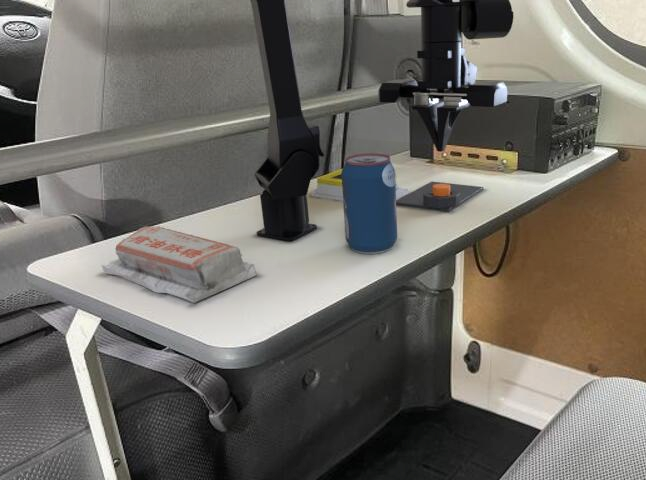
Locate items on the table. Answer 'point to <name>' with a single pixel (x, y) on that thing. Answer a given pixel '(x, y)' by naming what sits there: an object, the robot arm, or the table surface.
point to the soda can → (369, 203)
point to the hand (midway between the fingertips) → (441, 151)
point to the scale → (439, 197)
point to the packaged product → (179, 263)
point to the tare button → (441, 190)
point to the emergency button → (340, 186)
